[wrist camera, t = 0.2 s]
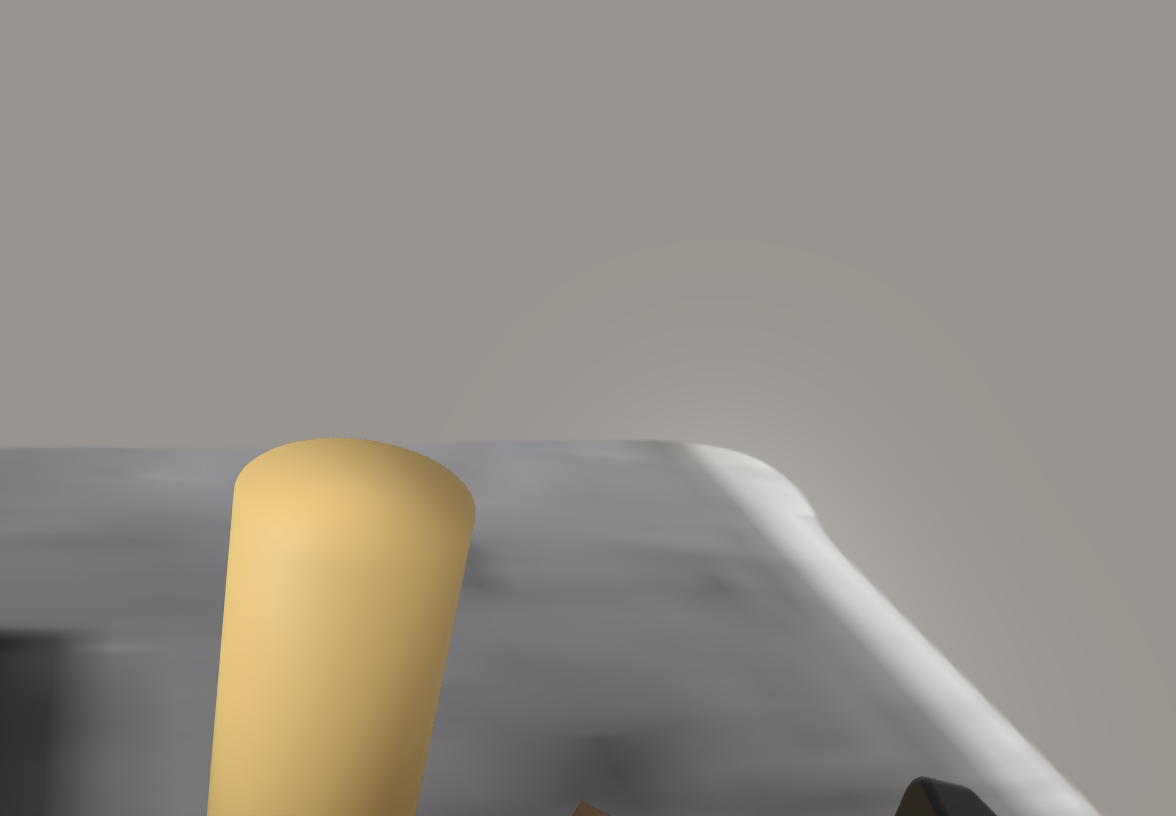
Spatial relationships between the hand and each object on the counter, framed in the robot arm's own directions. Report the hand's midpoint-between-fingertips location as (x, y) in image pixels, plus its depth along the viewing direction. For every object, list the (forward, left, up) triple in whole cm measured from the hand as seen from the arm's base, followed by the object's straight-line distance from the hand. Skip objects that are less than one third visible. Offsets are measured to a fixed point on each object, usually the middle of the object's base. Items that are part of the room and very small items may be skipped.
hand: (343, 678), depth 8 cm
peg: (+9, +2, -17) cm, 19 cm away
